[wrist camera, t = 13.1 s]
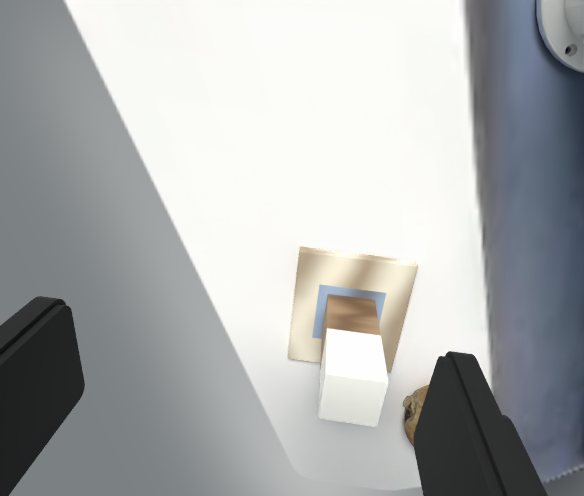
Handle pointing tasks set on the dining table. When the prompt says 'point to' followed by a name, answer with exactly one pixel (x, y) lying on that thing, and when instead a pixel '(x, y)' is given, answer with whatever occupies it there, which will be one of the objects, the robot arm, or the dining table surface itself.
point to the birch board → (353, 283)
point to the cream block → (352, 378)
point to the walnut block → (349, 316)
